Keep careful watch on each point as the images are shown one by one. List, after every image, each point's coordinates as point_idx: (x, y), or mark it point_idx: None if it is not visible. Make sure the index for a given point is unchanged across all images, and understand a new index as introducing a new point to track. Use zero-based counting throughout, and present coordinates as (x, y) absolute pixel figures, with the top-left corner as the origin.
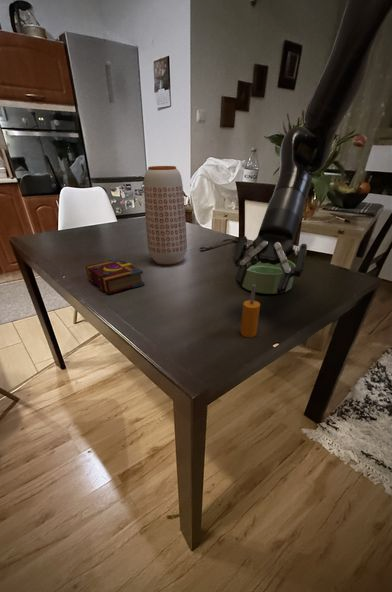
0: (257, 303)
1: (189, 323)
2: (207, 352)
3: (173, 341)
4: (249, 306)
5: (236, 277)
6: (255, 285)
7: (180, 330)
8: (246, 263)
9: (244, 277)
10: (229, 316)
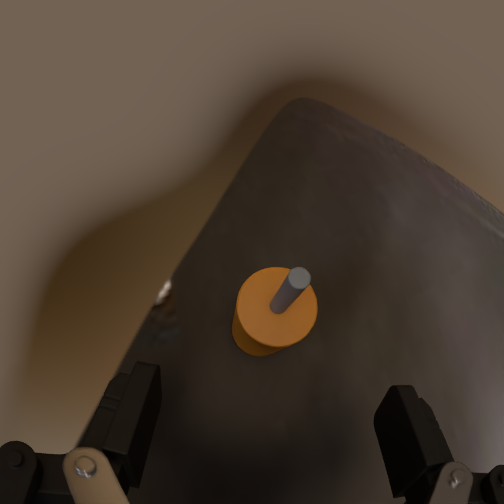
0: (252, 318)
1: (438, 311)
2: (335, 196)
3: (424, 215)
4: (281, 275)
5: (427, 409)
6: (289, 276)
7: (438, 267)
8: (432, 486)
9: (387, 457)
10: (352, 413)
